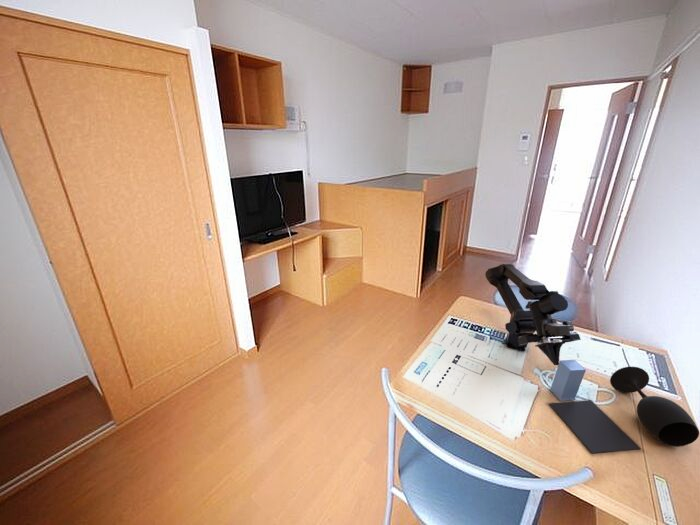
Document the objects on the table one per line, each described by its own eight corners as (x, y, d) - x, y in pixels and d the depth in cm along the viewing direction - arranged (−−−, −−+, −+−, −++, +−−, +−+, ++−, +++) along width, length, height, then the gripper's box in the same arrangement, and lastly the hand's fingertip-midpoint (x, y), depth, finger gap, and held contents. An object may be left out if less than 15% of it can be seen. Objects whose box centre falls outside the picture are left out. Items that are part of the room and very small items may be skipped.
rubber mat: (548, 404, 94) (549, 403, 94) (590, 401, 95) (591, 400, 95) (591, 453, 79) (592, 452, 79) (640, 449, 80) (640, 448, 80)
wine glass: (650, 365, 94) (706, 419, 76) (647, 391, 97) (700, 449, 79) (610, 367, 97) (655, 419, 78) (609, 392, 100) (652, 448, 82)
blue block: (549, 389, 99) (559, 360, 95) (564, 388, 100) (574, 359, 95) (560, 400, 95) (570, 370, 91) (574, 399, 96) (586, 369, 91)
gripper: (531, 313, 97) (546, 364, 91) (584, 311, 99) (603, 361, 93) (511, 321, 108) (524, 367, 102) (560, 318, 109) (575, 364, 103)
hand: (556, 365), depth 100 cm, fingers closed
